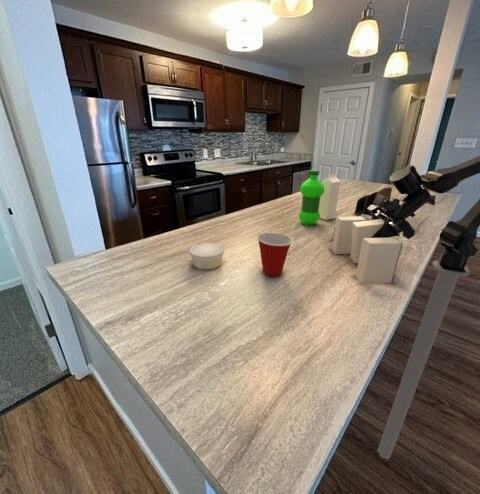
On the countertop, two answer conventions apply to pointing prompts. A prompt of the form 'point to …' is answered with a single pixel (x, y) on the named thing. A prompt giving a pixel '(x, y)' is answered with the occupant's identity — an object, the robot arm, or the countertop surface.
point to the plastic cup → (273, 252)
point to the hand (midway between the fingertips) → (366, 238)
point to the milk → (329, 197)
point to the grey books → (363, 217)
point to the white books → (368, 252)
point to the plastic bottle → (311, 199)
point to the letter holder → (370, 201)
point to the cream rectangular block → (363, 235)
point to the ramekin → (207, 255)
